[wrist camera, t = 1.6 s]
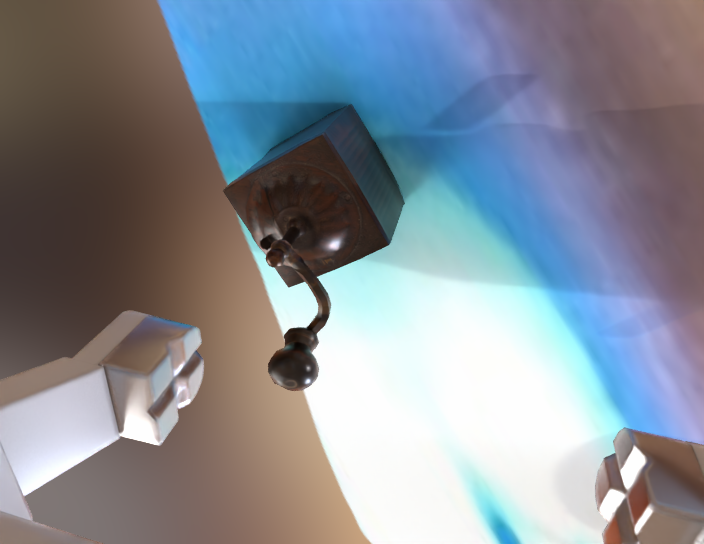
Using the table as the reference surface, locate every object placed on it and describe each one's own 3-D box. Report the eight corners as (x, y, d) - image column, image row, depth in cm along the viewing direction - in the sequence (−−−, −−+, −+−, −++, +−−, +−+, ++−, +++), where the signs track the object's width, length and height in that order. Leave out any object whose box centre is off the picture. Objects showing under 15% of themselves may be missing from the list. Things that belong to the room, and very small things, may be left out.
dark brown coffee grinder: (256, 156, 49) (149, 240, 34) (352, 99, 44) (278, 168, 29) (339, 284, 54) (279, 407, 39) (433, 246, 49) (406, 369, 34)
